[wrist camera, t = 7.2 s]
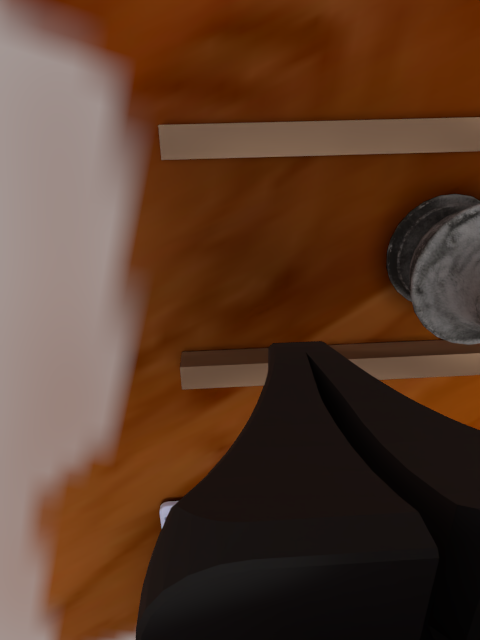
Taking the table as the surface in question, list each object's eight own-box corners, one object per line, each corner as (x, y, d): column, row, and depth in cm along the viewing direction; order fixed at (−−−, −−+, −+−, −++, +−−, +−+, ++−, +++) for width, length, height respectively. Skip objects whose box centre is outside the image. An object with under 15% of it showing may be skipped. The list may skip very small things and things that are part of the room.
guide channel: (512, 357, 23) (569, 401, 19) (183, 373, 22) (178, 422, 19) (577, 114, 18) (668, 113, 15) (162, 124, 18) (149, 125, 14)
